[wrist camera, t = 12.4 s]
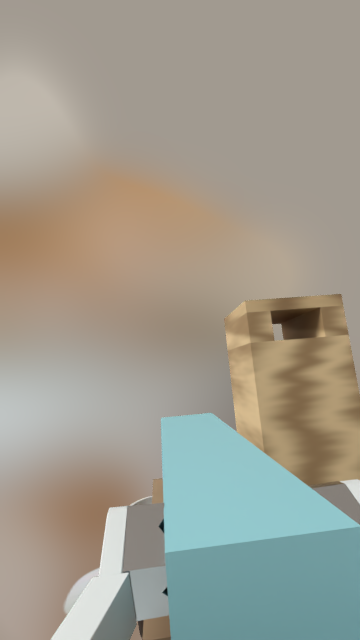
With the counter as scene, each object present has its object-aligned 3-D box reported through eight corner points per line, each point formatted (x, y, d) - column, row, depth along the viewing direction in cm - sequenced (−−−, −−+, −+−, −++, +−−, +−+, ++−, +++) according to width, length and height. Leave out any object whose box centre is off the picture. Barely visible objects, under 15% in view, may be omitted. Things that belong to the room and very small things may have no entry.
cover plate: (214, 439, 23) (211, 413, 24) (381, 640, 6) (361, 526, 6) (162, 444, 23) (161, 417, 23) (173, 675, 5) (164, 552, 6)
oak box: (336, 564, 35) (297, 313, 40) (404, 638, 25) (341, 294, 31) (253, 576, 35) (224, 318, 40) (290, 657, 25) (245, 300, 30)
